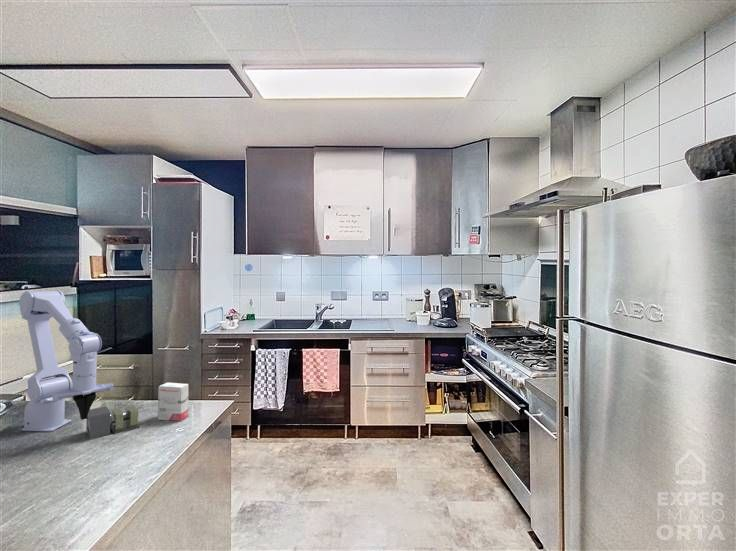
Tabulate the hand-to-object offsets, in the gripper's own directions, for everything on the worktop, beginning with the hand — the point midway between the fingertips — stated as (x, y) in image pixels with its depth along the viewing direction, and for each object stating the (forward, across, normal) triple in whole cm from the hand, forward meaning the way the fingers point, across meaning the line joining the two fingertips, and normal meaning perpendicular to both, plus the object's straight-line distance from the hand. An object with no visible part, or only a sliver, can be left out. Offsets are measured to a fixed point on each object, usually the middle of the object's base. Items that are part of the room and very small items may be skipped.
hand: (83, 418), depth 110 cm
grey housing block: (+6, +4, 0) cm, 7 cm away
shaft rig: (+6, +8, 0) cm, 10 cm away
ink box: (+6, +25, -3) cm, 25 cm away
